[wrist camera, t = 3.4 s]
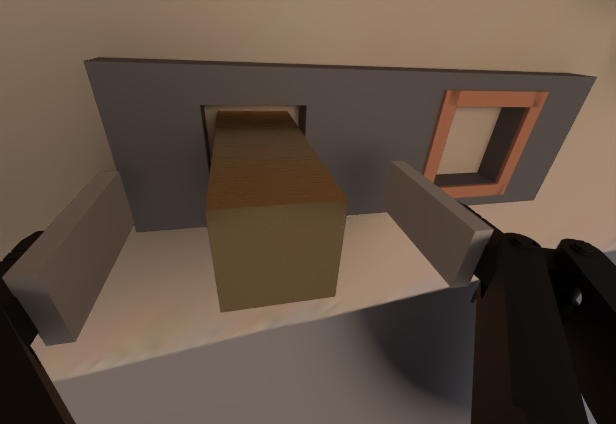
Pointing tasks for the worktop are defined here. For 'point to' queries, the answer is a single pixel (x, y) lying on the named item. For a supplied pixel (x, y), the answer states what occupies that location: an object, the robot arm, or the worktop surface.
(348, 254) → the worktop surface
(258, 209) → the wooden peg
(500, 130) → the dark grey flat board
